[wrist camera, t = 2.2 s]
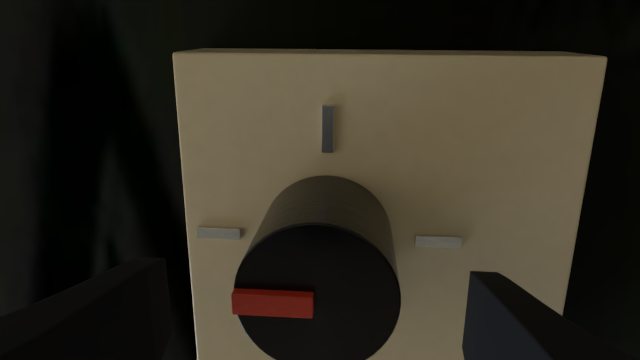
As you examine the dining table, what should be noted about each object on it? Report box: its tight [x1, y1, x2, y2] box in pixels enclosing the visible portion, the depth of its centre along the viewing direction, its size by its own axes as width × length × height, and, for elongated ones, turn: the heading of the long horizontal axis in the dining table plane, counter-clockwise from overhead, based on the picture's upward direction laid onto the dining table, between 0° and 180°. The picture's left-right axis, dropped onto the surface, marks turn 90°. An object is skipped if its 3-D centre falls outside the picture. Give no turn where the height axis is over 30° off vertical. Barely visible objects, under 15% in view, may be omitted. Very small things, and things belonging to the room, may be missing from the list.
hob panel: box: [173, 48, 607, 360], centre depth 16 cm, size 12×11×3 cm
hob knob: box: [231, 175, 401, 360], centre depth 13 cm, size 4×4×4 cm
